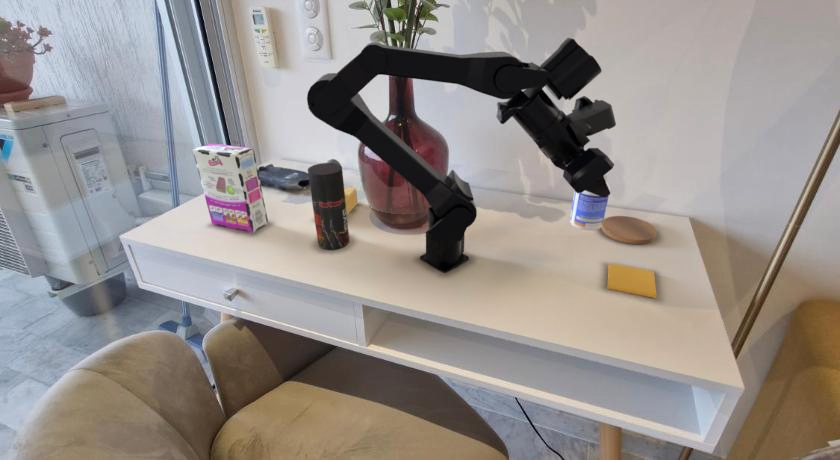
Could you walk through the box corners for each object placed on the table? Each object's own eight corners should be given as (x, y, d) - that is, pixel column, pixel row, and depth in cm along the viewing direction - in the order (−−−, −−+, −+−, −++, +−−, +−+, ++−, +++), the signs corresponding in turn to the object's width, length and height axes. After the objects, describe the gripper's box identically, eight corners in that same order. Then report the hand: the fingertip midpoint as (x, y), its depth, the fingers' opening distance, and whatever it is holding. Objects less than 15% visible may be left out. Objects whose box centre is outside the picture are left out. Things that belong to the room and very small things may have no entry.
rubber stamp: (341, 223, 91) (335, 168, 85) (315, 220, 92) (308, 166, 86) (358, 203, 99) (353, 152, 94) (334, 201, 100) (328, 151, 95)
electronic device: (249, 191, 110) (295, 193, 103) (245, 169, 108) (291, 170, 101) (276, 183, 117) (320, 184, 111) (272, 162, 116) (317, 162, 109)
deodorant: (349, 249, 81) (341, 173, 74) (316, 251, 81) (305, 175, 74) (349, 234, 87) (342, 162, 79) (319, 236, 86) (309, 163, 79)
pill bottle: (608, 229, 73) (621, 174, 69) (580, 233, 72) (591, 178, 67) (589, 215, 78) (600, 163, 73) (562, 219, 77) (572, 166, 72)
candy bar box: (270, 223, 91) (255, 147, 83) (253, 234, 87) (236, 155, 79) (228, 215, 95) (210, 141, 87) (211, 225, 91) (190, 148, 83)
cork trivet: (642, 250, 80) (643, 245, 79) (591, 231, 86) (592, 226, 86) (664, 232, 86) (665, 227, 85) (615, 215, 92) (616, 211, 92)
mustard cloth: (655, 298, 67) (656, 295, 67) (607, 288, 70) (607, 285, 69) (653, 274, 73) (653, 271, 73) (608, 266, 75) (609, 263, 75)
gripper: (613, 96, 55) (675, 176, 61) (567, 72, 72) (618, 138, 77) (543, 155, 59) (607, 227, 65) (514, 120, 75) (567, 179, 81)
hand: (600, 188), depth 72 cm, fingers closed on pill bottle, 5 cm apart
